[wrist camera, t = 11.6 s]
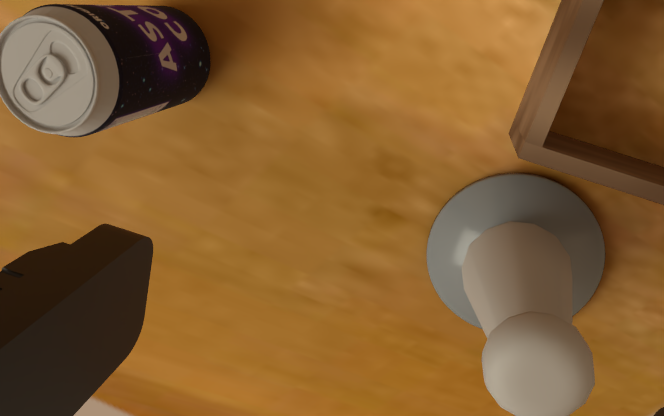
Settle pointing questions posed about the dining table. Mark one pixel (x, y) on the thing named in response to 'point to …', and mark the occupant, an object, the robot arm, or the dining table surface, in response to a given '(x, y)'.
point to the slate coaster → (516, 206)
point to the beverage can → (99, 65)
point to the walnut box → (545, 100)
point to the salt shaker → (527, 321)
